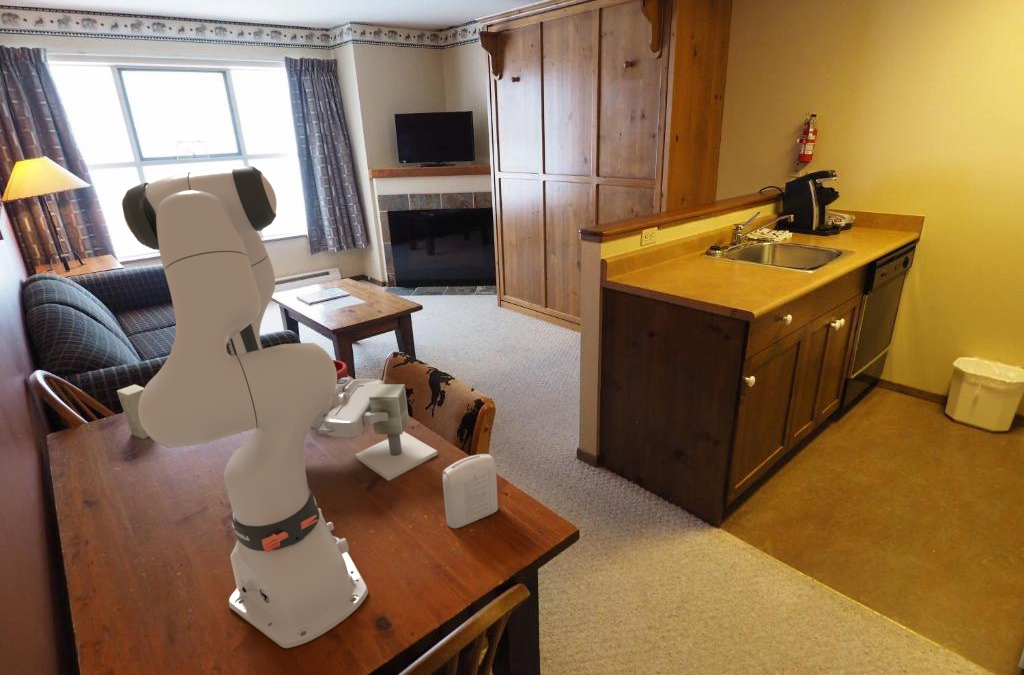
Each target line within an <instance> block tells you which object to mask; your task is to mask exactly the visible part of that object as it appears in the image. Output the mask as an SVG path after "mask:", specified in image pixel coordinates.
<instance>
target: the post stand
mask: <svg viewBox="0 0 1024 675" xmlns="http://www.w3.org/2000/svg"><path fill="white" fill-rule="evenodd" d="M354 455H355V458H356V460H358V461H359V462H360V463H362V464H364V465H365V466H367V467H368V468H369V469H371V470H372V471H373V472H375V473H376V474H377V475H379V476H380V477H382V478H384V479H385V481H388V482H389V481H391V480H393V479H395V478H397V477H399V476H400V475H402V474H405V473H406V472H407V471H410V470H412V469H413V468H415V467H418V466H419V465H420V464H423V463H425V462H426V461H428V460H430V459H432V458H433V457H436V456H437V455H438V450H436V449H435V448H433V447H431V446H430V445H428V444H426V443H425V442H422V441H421V440H420V439H418V438H416V437H414V436H412V435H411V434H409V433H407V432H406V431H405V430H404V431H403V433H402V434H387V439H384V440H382V441H380V442H377V443H376V444H374V445H372V446H370V447H368V448H365V449H363V450H361V451H359V452H357V453H355V454H354Z"/></svg>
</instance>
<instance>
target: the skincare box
mask: <svg viewBox="0 0 1024 675" xmlns="http://www.w3.org/2000/svg"><path fill="white" fill-rule="evenodd" d="M144 388H145V387H143V386H140V385H138V384H132V385H129V386H127V387H123V388H120V389H118V390H116V392H117V396H118V400H119V401H120V405H121V407H122V409H123V413H124V416H125V418H126V422H127V423H128V427H129V430H130V433H131V435H133V436H135V437H137V438H140V439H142V440H144V439H147V438H148V437H150V436H149V435H148V434H147V433H146V432H145V430H144V429H143V427H142V425H141V422H140V419H139V414H138V405H139V400H140V396H141V394H142V392H143V390H144Z"/></svg>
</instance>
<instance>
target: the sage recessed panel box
mask: <svg viewBox="0 0 1024 675" xmlns="http://www.w3.org/2000/svg"><path fill="white" fill-rule="evenodd" d="M369 400H370V407H371V413H377V412H380V411H381V410H384V411H385V410H388V411H389V415H390V416H389V418H388V420H387V421H379V422H376V423H373V424H372V426H373V432H374V435H388V434H402V433H403V431H404V432H405V429H406V428H407V425H408V422H409V421H410V419H409V418H410V417H409V412H408V403H407V402H408V401H407V394H406V387H405V384H403V383H399V384H398V383H397V384H395V383H392V384H391V383H390V384H389V383H387V384H385V383H384V384H378V385H377V386H376V388H375V389H374V391H373V392H372V393H371V395H370V396H369Z"/></svg>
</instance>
